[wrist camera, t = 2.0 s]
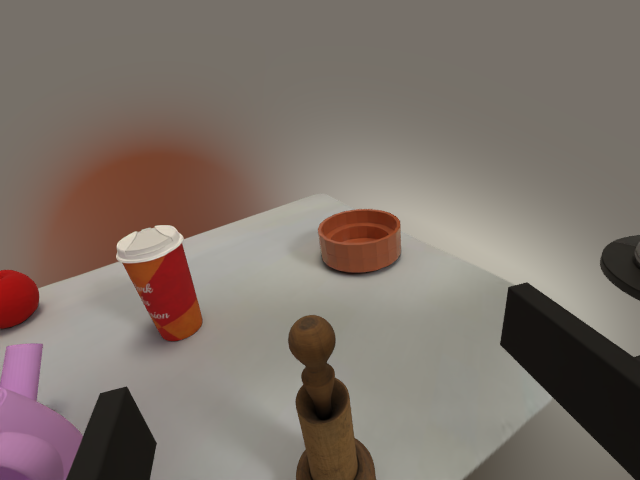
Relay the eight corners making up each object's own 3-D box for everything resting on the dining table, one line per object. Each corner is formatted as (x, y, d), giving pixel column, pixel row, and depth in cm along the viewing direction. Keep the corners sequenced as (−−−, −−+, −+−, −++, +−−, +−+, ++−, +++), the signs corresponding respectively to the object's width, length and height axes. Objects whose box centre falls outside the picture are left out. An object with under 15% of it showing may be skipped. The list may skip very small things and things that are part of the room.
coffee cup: (150, 322, 54) (112, 235, 47) (204, 302, 57) (175, 217, 50) (155, 356, 47) (111, 260, 41) (215, 332, 50) (184, 238, 44)
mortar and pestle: (332, 552, 26) (294, 383, 18) (284, 483, 31) (237, 324, 23) (392, 487, 30) (383, 320, 22) (341, 434, 34) (317, 280, 26)
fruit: (49, 318, 59) (19, 267, 54) (-20, 346, 54) (-59, 293, 50) (47, 295, 65) (20, 248, 61) (-14, 318, 61) (-48, 269, 56)
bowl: (416, 249, 64) (416, 219, 61) (365, 286, 56) (363, 253, 53) (357, 230, 73) (355, 203, 71) (306, 260, 65) (301, 230, 63)
